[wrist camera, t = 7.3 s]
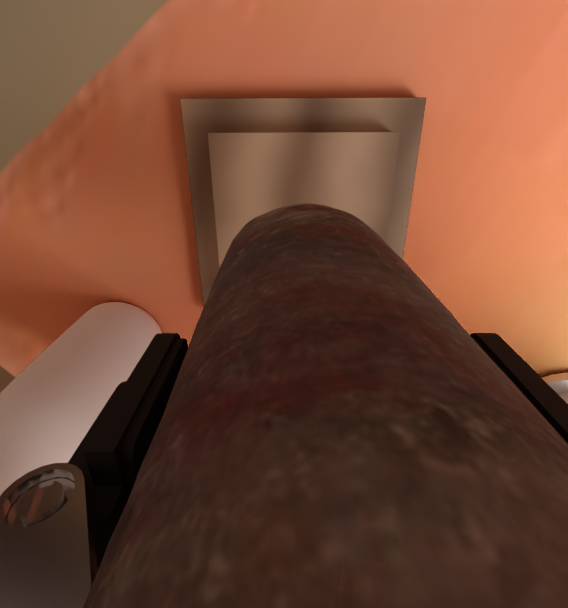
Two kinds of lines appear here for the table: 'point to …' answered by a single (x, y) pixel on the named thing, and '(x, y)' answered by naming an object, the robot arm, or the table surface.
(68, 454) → the milk bottle
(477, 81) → the table surface
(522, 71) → the table surface
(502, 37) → the table surface
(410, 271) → the dark brown rough cylinder
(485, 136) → the table surface
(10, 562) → the robot arm
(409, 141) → the plinth
